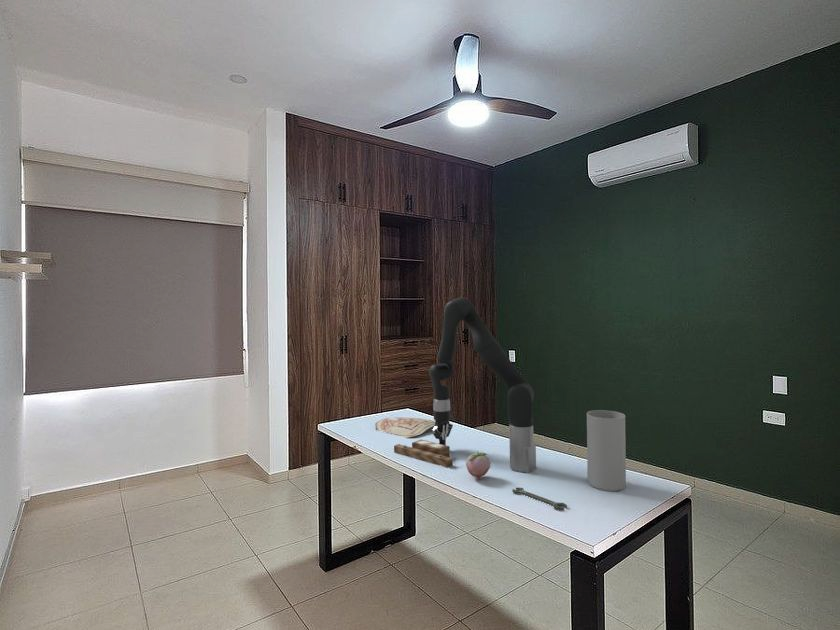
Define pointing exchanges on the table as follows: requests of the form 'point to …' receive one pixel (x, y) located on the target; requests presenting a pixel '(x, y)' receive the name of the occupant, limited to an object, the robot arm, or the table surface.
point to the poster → (404, 426)
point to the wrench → (540, 499)
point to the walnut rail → (423, 455)
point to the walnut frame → (432, 447)
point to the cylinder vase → (606, 450)
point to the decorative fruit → (478, 464)
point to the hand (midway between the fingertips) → (442, 447)
